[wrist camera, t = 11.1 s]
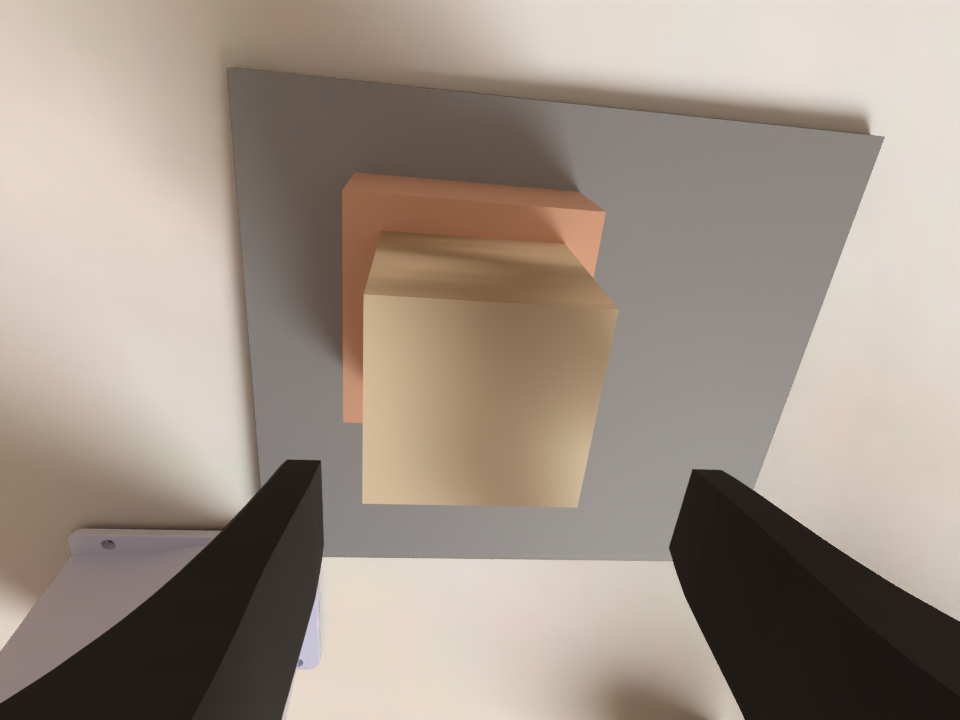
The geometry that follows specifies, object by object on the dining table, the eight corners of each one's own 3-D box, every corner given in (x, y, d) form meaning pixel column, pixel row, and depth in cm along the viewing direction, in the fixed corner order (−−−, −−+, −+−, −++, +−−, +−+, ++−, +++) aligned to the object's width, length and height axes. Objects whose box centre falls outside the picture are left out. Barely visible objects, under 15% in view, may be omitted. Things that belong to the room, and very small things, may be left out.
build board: (269, 545, 24) (246, 617, 21) (232, 67, 17) (186, 66, 13) (720, 551, 27) (760, 617, 24) (871, 134, 19) (962, 147, 16)
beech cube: (378, 395, 18) (362, 503, 13) (381, 230, 16) (363, 294, 11) (540, 400, 18) (577, 507, 14) (565, 243, 16) (618, 309, 12)
